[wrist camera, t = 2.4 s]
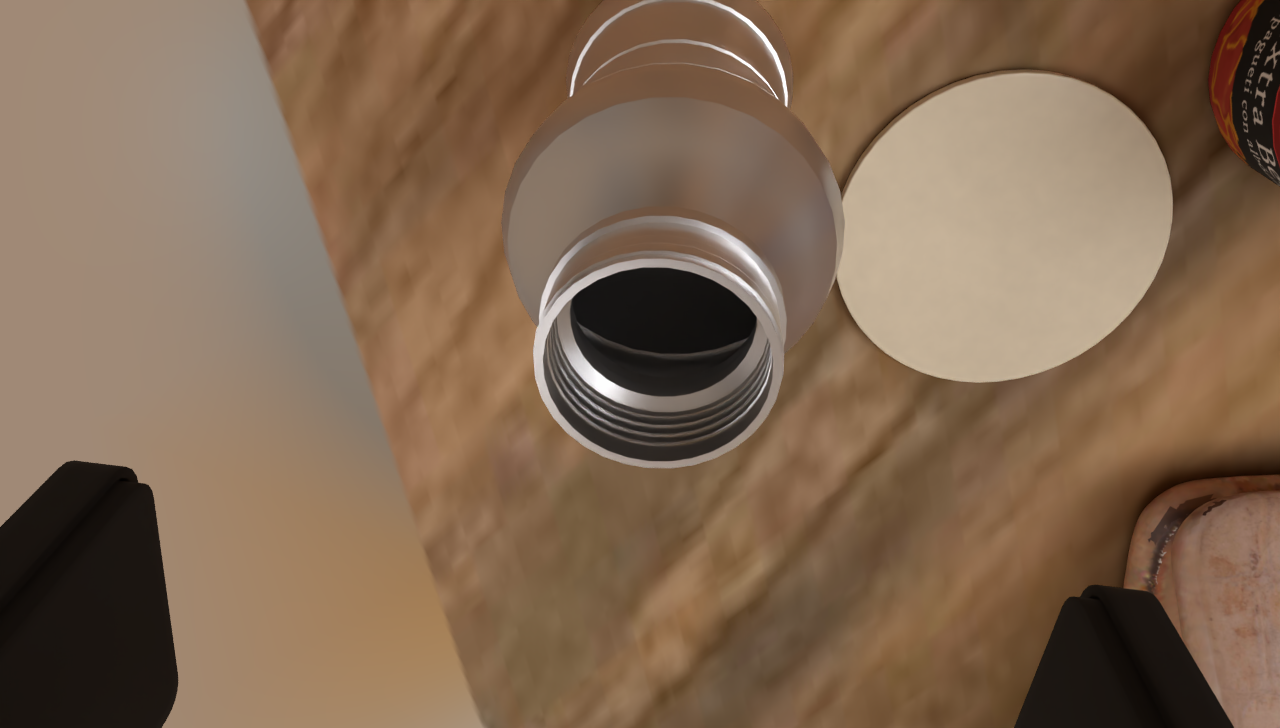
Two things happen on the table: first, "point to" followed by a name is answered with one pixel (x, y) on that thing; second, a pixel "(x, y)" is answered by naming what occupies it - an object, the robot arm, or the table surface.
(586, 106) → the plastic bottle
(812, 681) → the table surface
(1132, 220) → the coaster
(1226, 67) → the canned food
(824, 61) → the table surface
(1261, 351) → the table surface
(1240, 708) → the case
